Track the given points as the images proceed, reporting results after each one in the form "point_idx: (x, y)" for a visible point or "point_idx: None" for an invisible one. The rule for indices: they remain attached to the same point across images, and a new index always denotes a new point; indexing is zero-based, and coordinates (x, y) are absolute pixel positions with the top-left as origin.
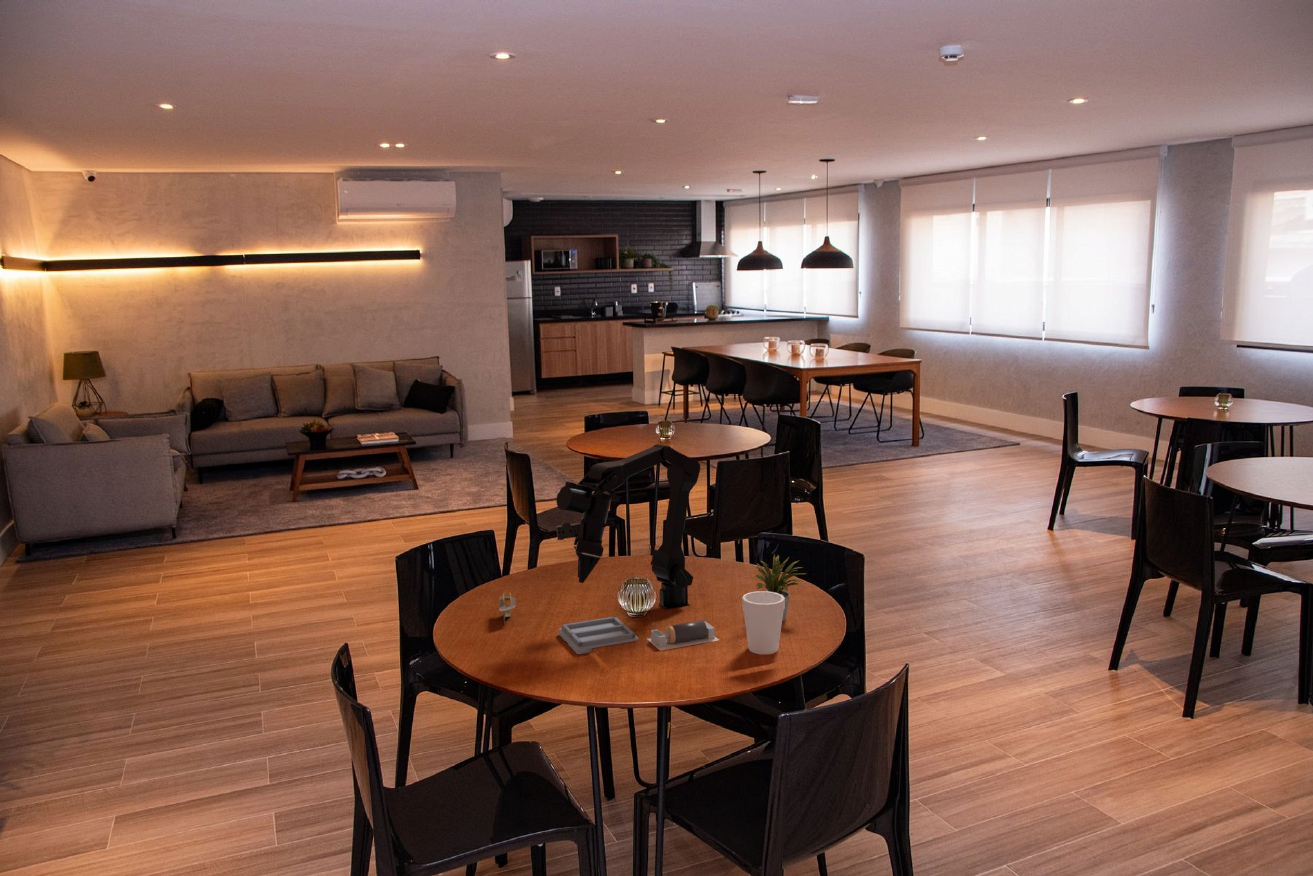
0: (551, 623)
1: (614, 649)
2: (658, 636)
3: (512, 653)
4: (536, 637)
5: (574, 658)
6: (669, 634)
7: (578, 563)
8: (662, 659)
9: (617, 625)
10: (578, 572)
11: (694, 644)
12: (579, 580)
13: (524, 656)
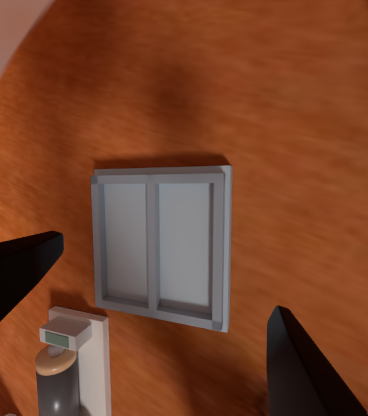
0: (339, 171)
1: None
2: (43, 329)
3: (162, 28)
4: (241, 104)
5: (90, 159)
6: (47, 353)
7: (317, 397)
8: (40, 298)
9: (184, 309)
10: (284, 329)
11: None
12: (45, 234)
13: (135, 56)
